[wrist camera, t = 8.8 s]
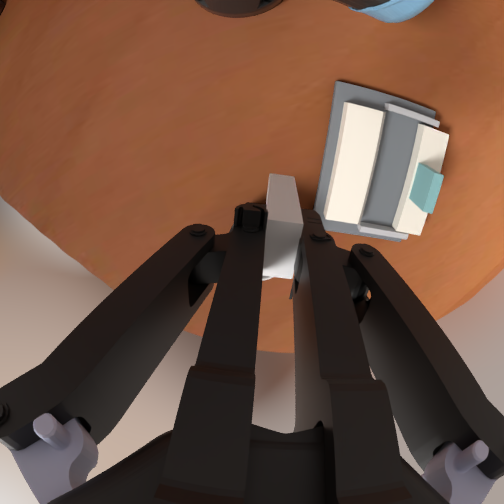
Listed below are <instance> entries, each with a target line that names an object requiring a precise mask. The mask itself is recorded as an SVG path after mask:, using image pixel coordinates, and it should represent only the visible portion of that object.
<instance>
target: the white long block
mask: <svg viewBox="0 0 504 504" xmlns="http://www.w3.org/2000/svg"><path fill="white" fill-rule="evenodd" d="M448 139H449V135H448V134H446V133H443V132H441V131H438V130H436V129H433V128H431V127H428V126H425V125H422V124H419V123H418V128H417V133H416V138H415V143H414V147H413V152H412V156H411V160H410V164H409V168H408V172H407V176H406V180H405V183H404V187H403V191H402V194H401V198H400V201H399V204H398V208H397V211H396V214H395V217H394V220H393V223H392V226H393V227H394V229H395V230H396V231H399V232H404V233H410V234H415V235H420V234H421V231H422V228H423V225H424V223H425V220H426V217H427V214H428V213H431V214H432V213H433V210H434V207H435V204H436V201H437V197H438V194H439V191H440V188H441V184H442V181H443V177H444V175H442V174H441V173H440V171H441V168H442V164H443V160H444V156H445V152H446V148H447V143H448Z"/></svg>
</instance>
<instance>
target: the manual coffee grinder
mask: <svg viewBox="0 0 504 504" xmlns="http://www.w3.org/2000/svg"><path fill="white" fill-rule="evenodd" d="M5 5H6V4H5V3H4V2H3V1H1V0H0V15H1V13H2V11H3V9H4V7H5Z"/></svg>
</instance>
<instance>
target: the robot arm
mask: <svg viewBox="0 0 504 504" xmlns="http://www.w3.org/2000/svg"><path fill="white" fill-rule="evenodd" d="M195 1H196V2H197V3H198V4H199V5H200V6H201V7H202V8H204V9H205V10H207V11H209V12H211V13H213V14H216V15H219V16H224V17H232V18H241V17H249V16H254V15H258V14H261V13H264V12H266V11H268V10H270V9H272V8H273V7H275V6H276V5H278V4H279V3H280V2H281V1H282V0H195ZM333 1H336V2H338V3H341V4H343V5H346V6H348V7H349V9H351V10H353V11H356V12H362V13H365V14H367V15H369V16H371V17H374V18H376V19H378V20H380V21H383V22H387V23H393V22H394V23H399V22H403V21H406V20H408V19H411V18H413V17H414V16H416V15H418V14H419V13H421V12H422V11H423V10H425V9H426V8H427V7H428V6H429V5H430V4H431V3H432V2H433V1H434V0H333ZM293 272H294V280H293V285H292V289H291V293H290V298H289V299H292V297H293V313H294V342H295V387H296V389H295V392H296V393H295V394H296V421H295V428H294V432H293V433H288V434H284V433H280V432H276V431H272V430H269V429H266V428H263V427H260V426H257V425H254V424H251V423H252V412H253V401H254V389H255V361H256V350H257V338H258V326H259V314H260V302H261V289H262V277H263V276H271V277H279V278H288V279H292V277H293ZM214 283H217V287H216V290H215V294H214V298H213V301H212V305H211V308H210V312H209V316H208V319H207V323H206V327H205V331H204V334H203V338H202V342H201V346H200V349H199V353H198V357H197V361H196V364H195V366H191V367H190V369H189V372H188V375H187V378H186V382H185V385H184V389H183V393H182V397H181V400H180V404H179V408H178V412H177V416H176V420H175V424H174V428H173V430H170V431H168V432H166V433H164V434H162V435H160V436H158V437H156V438H155V439H153V440H152V441H150V442H149V443H147V444H146V445H145V446H143V447H142V448H140V449H138V450H137V451H136V452H134V453H132V454H131V455H129V456H128V457H126V458H125V459H123V460H122V461H120V462H119V463H117V464H115V465H114V466H112V467H111V468H109V469H107V470H106V471H104V472H102V473H101V474H99V475H97V476H96V477H94V478H92V479H90V480H89V481H87V482H86V479H87V476H88V473H89V472H90V471H91V470H92V469H93V468H94V467H95V466H96V464H97V460H98V449H97V444H99V443H100V442H101V441H102V440H103V439H104V438H105V437H106V436H107V435H108V434H109V433H110V432H111V431H112V430H113V429H114V427H115V426H116V425H117V423H118V422H119V421H120V419H121V418H122V417H123V415H124V414H125V412H126V411H127V409H128V408H129V406H130V405H131V404H132V402H133V401H134V399H135V398H136V396H137V395H138V393H139V392H140V391H141V389H142V388H143V386H144V385H145V383H146V382H147V380H148V379H149V378H150V376H151V375H152V373H153V372H154V370H155V369H156V368H157V366H158V365H159V363H160V362H161V360H162V359H163V358H164V356H165V355H166V353H167V352H168V350H169V349H170V347H171V346H172V345H173V343H174V342H175V341H176V339H177V338H178V336H179V335H180V333H181V332H182V331H183V329H184V328H185V326H186V325H187V324H188V322H189V321H190V319H191V318H192V317H193V315H194V314H195V312H196V311H197V309H198V308H199V307H200V305H201V304H202V302H203V301H204V300H205V298H206V297H207V295H208V294H209V293H210V291H211V290H212V288H213V286H214ZM368 290H370V292H371V298H370V299H369V298H368V297H367V293H368ZM369 366H370V367H369ZM370 368H371V369H372V372H373V373H374V376H375V378H376V380H374V379H373V378H372V375H371V372H370ZM393 415H394V418H395V420H396V422H397V424H398V426H399V428H400V431H401V433H402V435H403V438H404V440H405V442H406V444H407V446H408V448H409V450H410V452H411V454H412V455H413V457H414V459H415V460H416V462H417V463H418V465H419V466H420V467H421V468H422V469H423V471H424V474H423V475H421V476H420V475H419V474H418V473H417V472H416V471H415V470H414V469H413V468H412V467H411V466H410V465H409V464H408V463H407V462H406V461H405V460H404V459H403V458H402V457H401V456H400V452H399V446H398V440H397V434H396V429H395V424H394V418H393ZM0 442H1V443H2V444H3V445H5V446H6V447H7V448H8V449H9V450H10V451H11V453H12V454H13V457H14V459H15V461H16V463H17V465H18V467H19V469H20V471H21V472H22V474H23V476H24V478H25V480H26V482H27V483H28V485H29V487H30V489H31V490H32V492H33V493H34V495H35V497H36V498H37V500H38V502H39V503H40V504H481V503H482V502H483V500H484V499H485V497H486V496H487V494H488V492H489V491H490V489H491V487H492V486H493V484H494V482H495V481H496V480H497V479H498V478H500V477H501V476H503V475H504V416H503V415H502V414H501V413H500V412H499V411H498V410H497V409H496V408H495V407H494V406H493V405H492V404H491V403H490V402H489V401H488V399H487V398H486V396H485V394H484V393H483V391H482V389H481V388H480V386H479V384H478V383H477V381H476V380H475V378H474V376H473V375H472V373H471V372H470V370H469V369H468V367H467V365H466V364H465V362H464V361H463V360H462V358H461V356H460V355H459V353H458V352H457V351H456V349H455V347H454V346H453V345H452V343H451V342H450V340H449V339H448V337H447V336H446V335H445V333H444V332H443V330H442V329H441V328H440V326H439V325H438V324H437V322H436V321H435V320H434V318H433V317H432V316H431V314H430V313H429V312H428V310H427V309H426V308H425V306H424V305H423V304H422V303H421V301H420V300H419V299H418V297H417V296H416V295H415V294H414V292H413V291H412V290H411V289H410V288H409V286H408V285H407V284H406V283H405V281H404V280H403V279H402V278H401V277H400V275H399V274H398V273H397V272H396V271H395V269H394V268H393V267H392V266H391V265H390V264H389V262H388V261H387V260H386V259H385V258H384V257H383V256H382V254H381V253H380V252H379V251H378V250H377V249H375V248H373V247H372V246H370V245H367V244H355V245H353V246H352V249H351V251H348V250H344V249H341V248H339V247H337V246H336V244H335V241H334V239H333V237H332V236H331V235H329V234H328V233H326V232H325V229H324V226H323V223H322V221H321V217H320V215H319V214H318V213H317V212H316V211H315V210H309V209H302V208H300V203H299V198H298V193H297V188H296V183H295V178H294V177H293V176H286V175H278V174H270V175H269V183H268V191H267V199H266V205H265V204H257V203H249V202H247V203H246V204H241V205H239V206H237V207H236V208H235V216H234V228H233V231H232V232H230V233H227V234H220V235H215V231H214V229H213V228H212V227H210V226H207V225H202V224H193V225H190V226H187V227H185V228H184V229H182V230H181V231H180V232H179V233H178V234H176V235H175V236H174V237H173V238H172V239H171V240H169V241H168V242H167V243H166V244H165V245H164V246H162V247H161V248H160V249H159V250H158V251H157V252H156V253H154V254H153V255H152V256H151V257H150V258H149V259H148V260H147V261H145V262H144V263H143V264H142V265H141V266H140V267H139V268H138V269H137V270H135V271H134V272H133V273H132V274H131V275H130V276H129V277H128V278H127V279H126V280H125V281H123V282H122V283H121V284H120V285H119V286H118V287H117V288H116V289H115V290H114V291H113V292H112V293H111V294H110V295H109V296H108V297H106V299H104V300H103V302H101V303H100V304H99V305H98V306H97V307H96V308H95V309H94V310H93V311H92V312H91V313H90V314H89V315H88V316H87V317H86V318H85V319H84V320H83V321H82V322H81V323H80V324H79V325H78V326H77V327H76V328H75V329H74V330H73V331H72V332H71V333H70V334H69V335H68V336H67V337H66V338H65V339H64V340H63V341H62V342H61V343H60V345H59V346H58V347H57V348H56V349H55V350H54V351H53V352H52V353H51V354H50V355H49V356H48V357H47V358H46V360H45V361H44V362H43V363H42V364H40V365H38V366H36V367H35V368H33V369H31V370H30V371H28V372H26V373H25V374H23V375H21V376H20V377H18V378H16V379H15V380H13V381H11V382H10V383H8V384H6V385H5V386H3V387H1V388H0Z"/></svg>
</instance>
